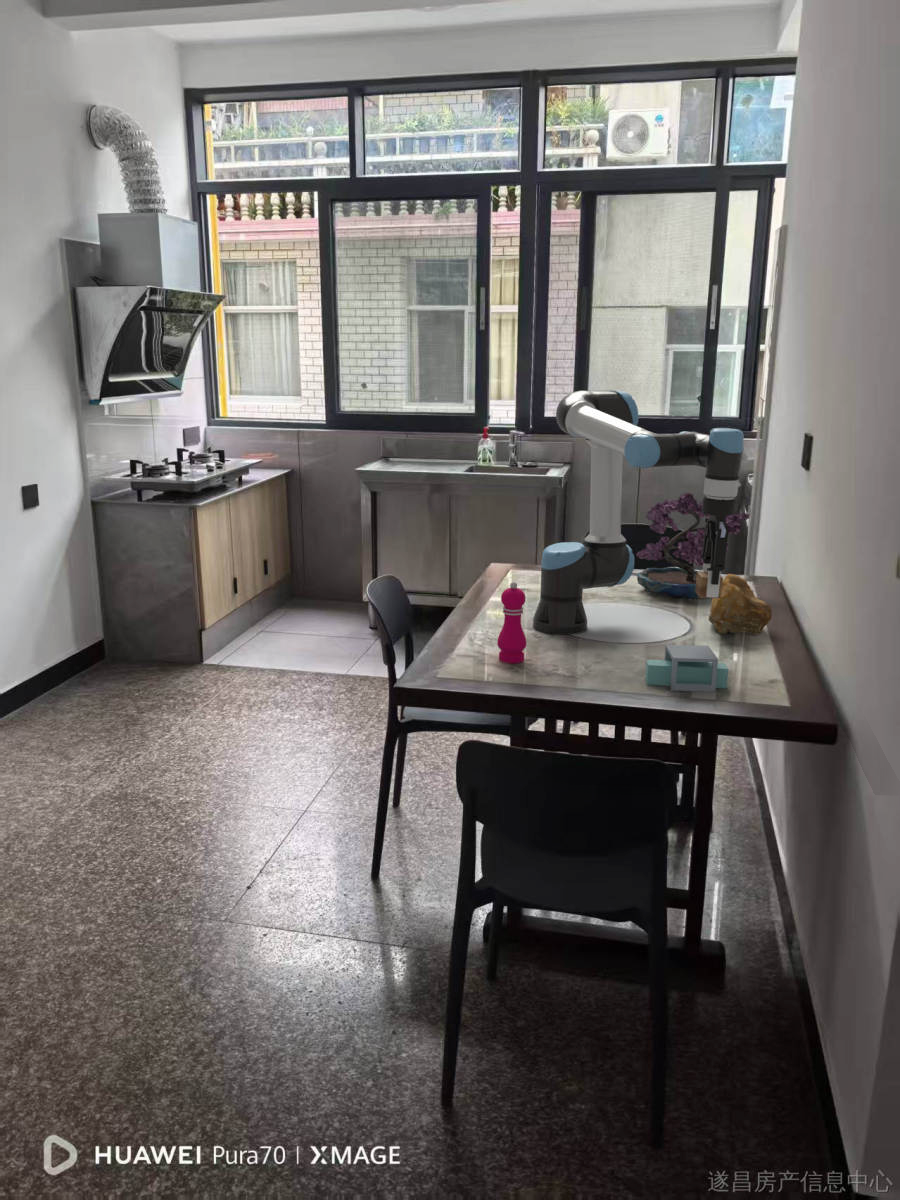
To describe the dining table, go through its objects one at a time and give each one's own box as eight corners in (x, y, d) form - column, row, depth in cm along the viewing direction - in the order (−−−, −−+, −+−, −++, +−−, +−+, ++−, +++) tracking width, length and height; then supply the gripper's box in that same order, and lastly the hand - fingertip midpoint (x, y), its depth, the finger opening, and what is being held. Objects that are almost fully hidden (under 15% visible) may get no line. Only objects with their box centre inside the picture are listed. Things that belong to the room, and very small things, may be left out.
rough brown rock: (762, 648, 243) (773, 594, 239) (700, 634, 249) (710, 582, 245) (771, 628, 263) (781, 578, 259) (713, 616, 269) (722, 568, 266)
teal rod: (646, 685, 212) (648, 665, 211) (645, 679, 216) (646, 659, 214) (726, 689, 210) (728, 668, 209) (723, 683, 214) (725, 663, 213)
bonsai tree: (634, 600, 286) (641, 497, 278) (630, 580, 312) (636, 485, 304) (750, 605, 282) (760, 500, 273) (735, 584, 308) (744, 488, 299)
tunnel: (670, 690, 208) (673, 657, 206) (663, 675, 218) (665, 644, 216) (715, 691, 208) (718, 659, 206) (705, 676, 217) (708, 645, 215)
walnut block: (699, 597, 215) (701, 576, 214) (694, 591, 220) (697, 571, 219) (720, 598, 215) (723, 577, 213) (715, 592, 220) (718, 572, 218)
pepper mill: (530, 663, 226) (533, 584, 221) (502, 665, 224) (504, 586, 219) (519, 654, 232) (522, 577, 227) (492, 656, 230) (494, 579, 225)
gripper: (746, 504, 202) (734, 605, 209) (727, 490, 219) (716, 584, 226) (712, 503, 202) (701, 603, 209) (695, 489, 219) (685, 582, 226)
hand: (709, 593), depth 217 cm, fingers closed on walnut block, 5 cm apart
